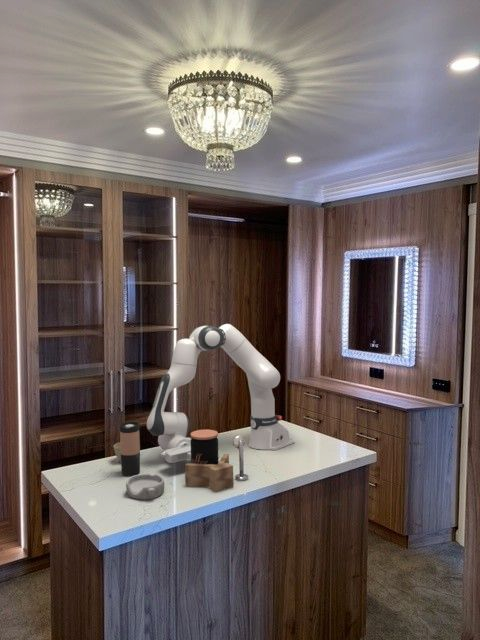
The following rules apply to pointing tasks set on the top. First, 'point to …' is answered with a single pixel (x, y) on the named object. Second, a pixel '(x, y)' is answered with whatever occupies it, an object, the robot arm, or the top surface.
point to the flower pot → (117, 451)
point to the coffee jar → (204, 447)
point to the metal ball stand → (240, 457)
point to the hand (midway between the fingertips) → (198, 457)
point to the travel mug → (130, 448)
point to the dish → (145, 486)
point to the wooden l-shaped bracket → (210, 475)
